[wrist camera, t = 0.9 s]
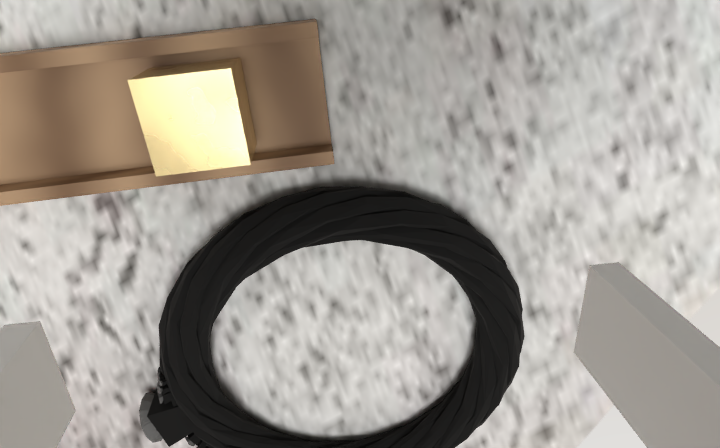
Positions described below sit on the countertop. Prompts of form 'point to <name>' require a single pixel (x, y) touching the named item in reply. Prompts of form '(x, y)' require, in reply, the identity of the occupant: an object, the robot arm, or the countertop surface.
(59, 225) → the countertop surface
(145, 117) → the block
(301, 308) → the countertop surface
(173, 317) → the cable lock
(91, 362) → the countertop surface
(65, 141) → the rail
